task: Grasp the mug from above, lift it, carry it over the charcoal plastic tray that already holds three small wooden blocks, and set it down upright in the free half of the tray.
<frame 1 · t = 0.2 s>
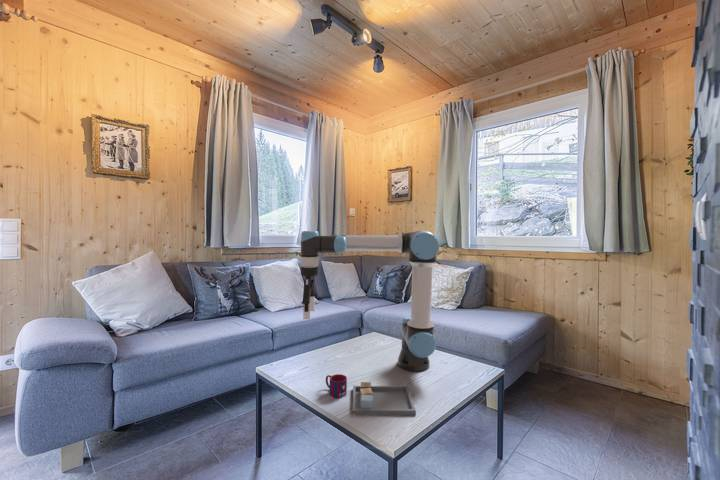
hand: (309, 314, 143), 28 cm above the table, fingers open, 13 cm apart
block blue: (366, 408, 118), point 1 cm above the table, touching tray
tray: (382, 402, 123), on the table
mug: (335, 394, 130), on the table
block beech: (366, 401, 123), point 1 cm above the table, touching tray
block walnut: (365, 394, 128), point 1 cm above the table, touching tray
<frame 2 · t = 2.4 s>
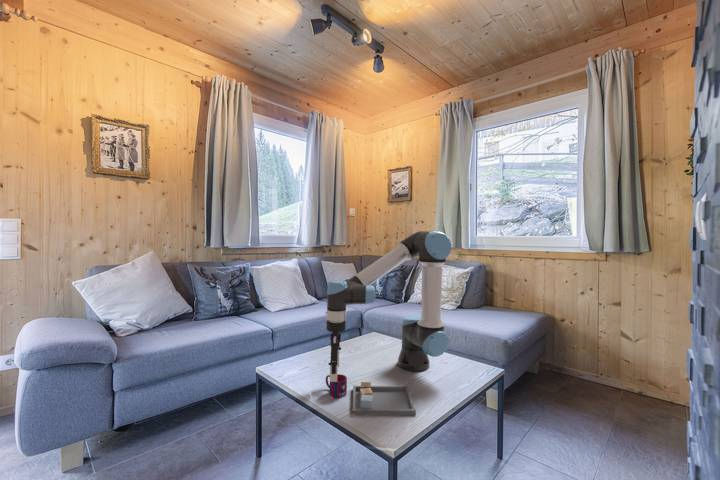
hand: (334, 373, 130), 8 cm above the table, fingers open, 13 cm apart
nothing on the table moved.
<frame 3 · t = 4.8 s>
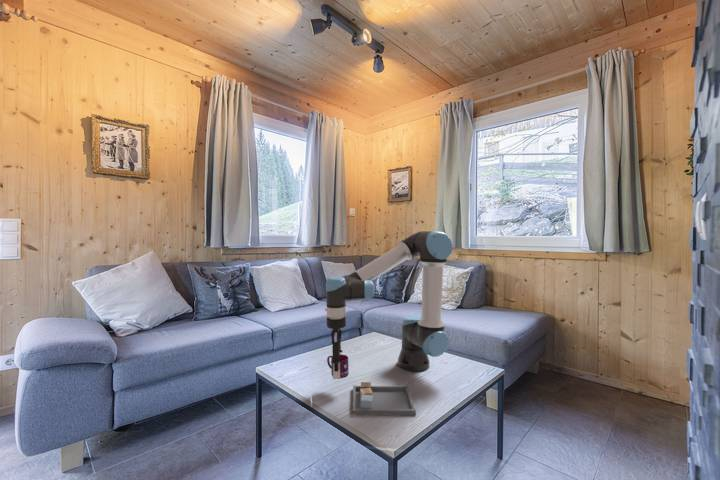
hand: (337, 373, 130), 8 cm above the table, fingers closed on mug, 7 cm apart
mug: (337, 373, 131), point 7 cm above the table, touching gripper
everything else where it was.
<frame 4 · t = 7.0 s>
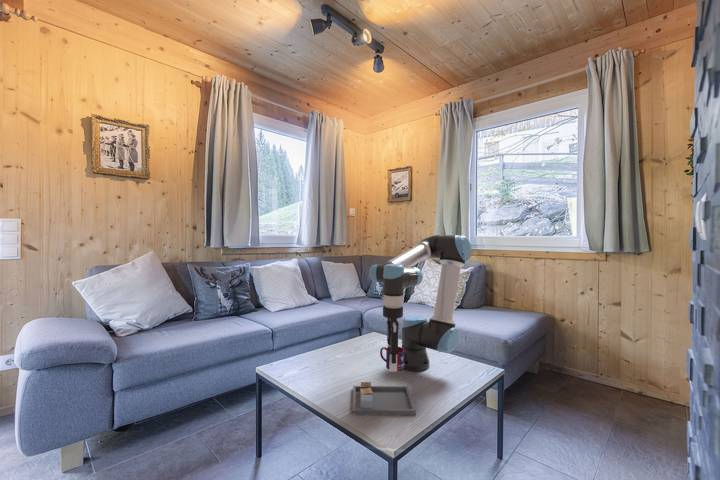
hand: (391, 366, 123), 14 cm above the table, fingers closed on mug, 7 cm apart
mug: (391, 366, 124), point 14 cm above the table, touching gripper
everything else where it was.
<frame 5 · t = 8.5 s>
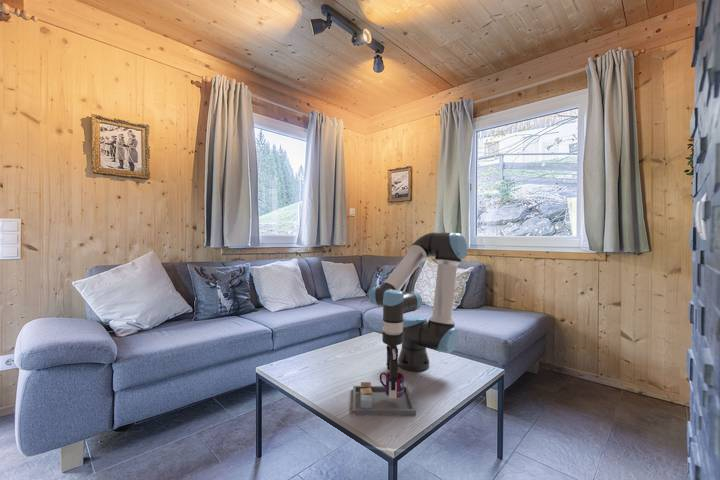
hand: (391, 392, 123), 4 cm above the table, fingers closed on mug, 7 cm apart
mug: (391, 392, 124), point 4 cm above the table, touching gripper
everything else where it was.
when the fingers open (2 cm above the table, at t = 9.4 s): mug drops 1 cm, resting on tray.
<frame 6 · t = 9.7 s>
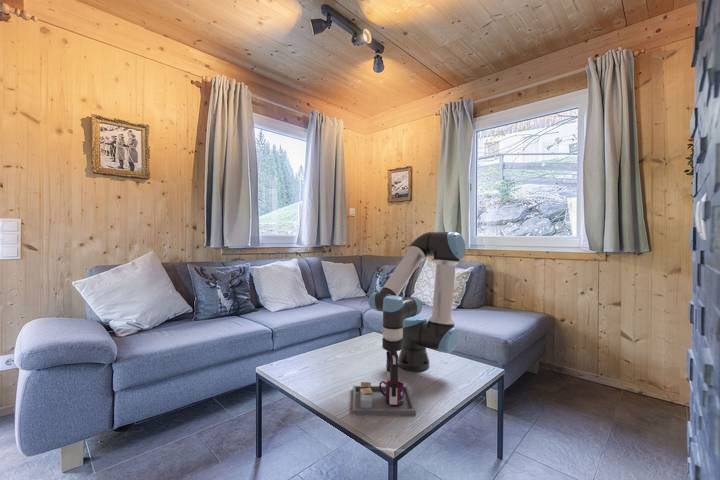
hand: (391, 396, 123), 3 cm above the table, fingers open, 10 cm apart
mug: (390, 400, 124), resting on tray
everything else where it was.
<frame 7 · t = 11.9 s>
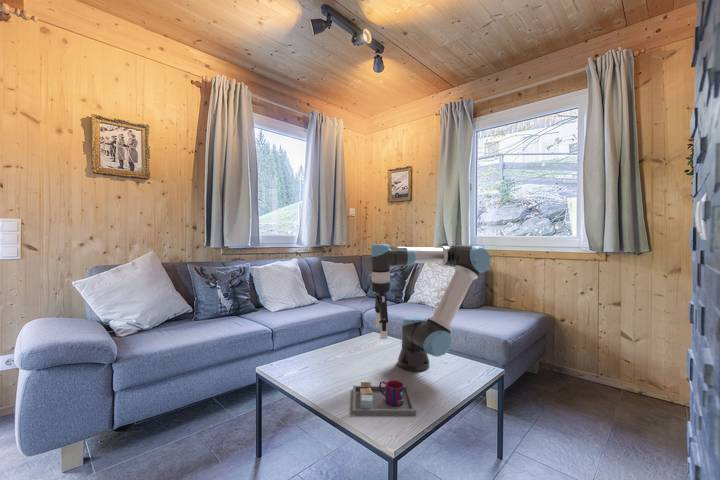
hand: (381, 333, 135), 23 cm above the table, fingers open, 13 cm apart
nothing on the table moved.
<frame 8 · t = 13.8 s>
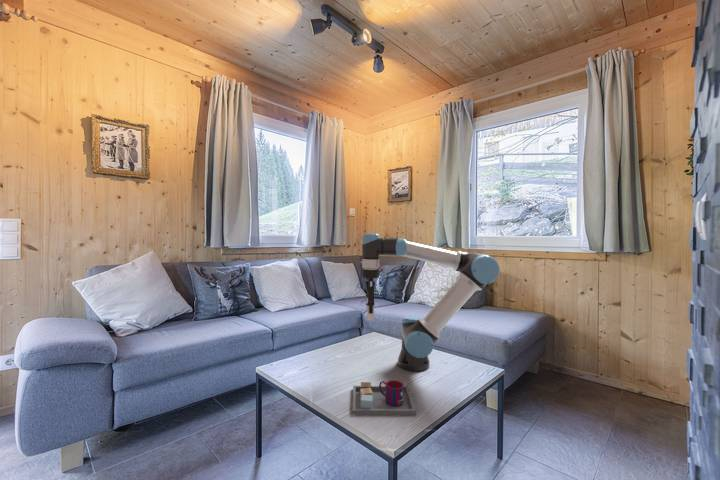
hand: (369, 316, 145), 27 cm above the table, fingers open, 13 cm apart
nothing on the table moved.
at the end: mug inside the target area on the tray (3.5 cm from its centre), point 0.4 cm above the tray's base; mug tilted 0°; the gripper is holding nothing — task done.
